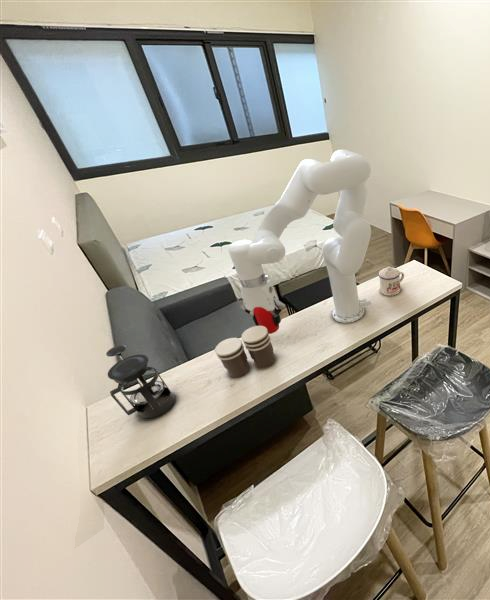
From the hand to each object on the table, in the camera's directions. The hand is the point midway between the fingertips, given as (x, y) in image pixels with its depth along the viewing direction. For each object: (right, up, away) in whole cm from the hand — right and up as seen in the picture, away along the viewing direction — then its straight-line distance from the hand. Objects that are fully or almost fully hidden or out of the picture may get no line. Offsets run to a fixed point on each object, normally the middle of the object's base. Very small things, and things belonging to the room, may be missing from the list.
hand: (268, 323), depth 112 cm
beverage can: (0, -3, +2) cm, 3 cm away
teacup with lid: (+43, +13, +30) cm, 54 cm away
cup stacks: (-3, -14, -5) cm, 15 cm away
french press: (-26, -24, -17) cm, 39 cm away
